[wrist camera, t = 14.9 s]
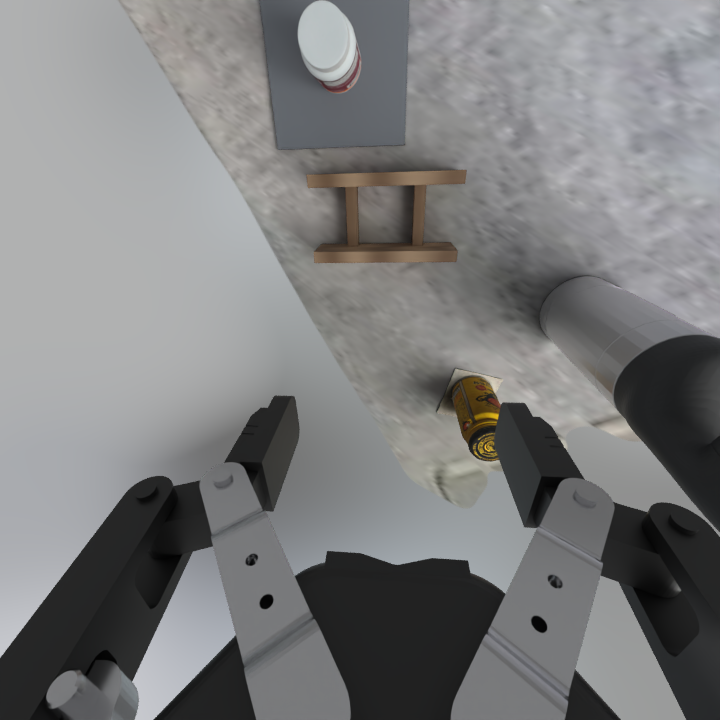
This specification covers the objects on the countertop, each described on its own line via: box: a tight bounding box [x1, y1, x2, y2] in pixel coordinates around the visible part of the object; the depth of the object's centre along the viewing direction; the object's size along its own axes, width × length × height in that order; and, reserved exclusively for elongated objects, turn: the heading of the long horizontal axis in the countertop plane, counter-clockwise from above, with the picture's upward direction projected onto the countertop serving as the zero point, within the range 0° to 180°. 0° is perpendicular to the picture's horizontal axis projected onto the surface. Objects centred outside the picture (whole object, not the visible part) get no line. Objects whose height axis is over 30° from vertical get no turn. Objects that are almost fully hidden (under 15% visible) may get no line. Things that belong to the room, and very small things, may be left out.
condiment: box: [437, 369, 503, 461], centre depth 47 cm, size 7×8×12 cm
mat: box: [260, 0, 409, 150], centre depth 34 cm, size 14×14×1 cm
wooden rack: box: [307, 170, 467, 263], centre depth 38 cm, size 16×9×5 cm, turn 92°
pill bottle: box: [298, 0, 361, 94], centre depth 30 cm, size 5×5×8 cm
